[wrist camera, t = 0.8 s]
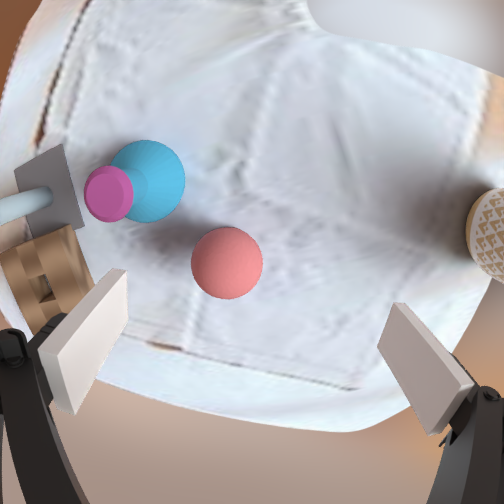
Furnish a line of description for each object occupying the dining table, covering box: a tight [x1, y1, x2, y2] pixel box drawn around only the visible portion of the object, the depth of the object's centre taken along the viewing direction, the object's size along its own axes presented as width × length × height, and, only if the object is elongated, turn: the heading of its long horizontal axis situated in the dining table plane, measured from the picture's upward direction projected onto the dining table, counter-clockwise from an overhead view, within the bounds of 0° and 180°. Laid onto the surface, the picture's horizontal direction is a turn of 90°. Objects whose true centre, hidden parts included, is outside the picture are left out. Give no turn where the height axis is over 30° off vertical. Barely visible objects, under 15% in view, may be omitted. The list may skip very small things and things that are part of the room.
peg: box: [0, 186, 53, 226], centre depth 30 cm, size 3×3×12 cm
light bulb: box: [191, 227, 263, 299], centre depth 33 cm, size 7×7×12 cm
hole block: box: [0, 224, 95, 335], centre depth 38 cm, size 14×14×4 cm
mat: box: [14, 144, 85, 239], centre depth 36 cm, size 12×10×1 cm
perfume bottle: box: [84, 140, 185, 223], centre depth 29 cm, size 9×9×15 cm
